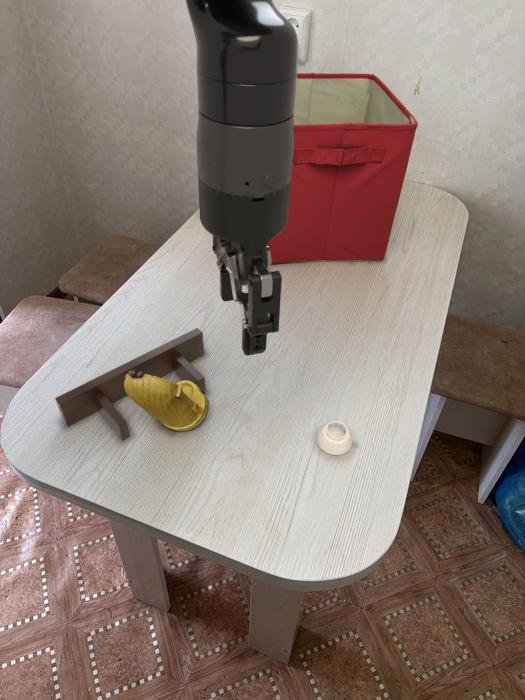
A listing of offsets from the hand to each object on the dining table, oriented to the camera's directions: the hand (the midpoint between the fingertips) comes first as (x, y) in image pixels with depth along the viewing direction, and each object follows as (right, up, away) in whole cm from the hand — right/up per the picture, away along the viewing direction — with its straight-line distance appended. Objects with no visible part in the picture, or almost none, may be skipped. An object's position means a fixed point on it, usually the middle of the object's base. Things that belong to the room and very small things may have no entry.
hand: (241, 323), depth 51 cm
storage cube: (+13, +25, +64) cm, 70 cm away
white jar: (+12, -16, +21) cm, 29 cm away
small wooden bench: (-15, -10, +25) cm, 31 cm away
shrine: (-11, -14, +22) cm, 28 cm away
